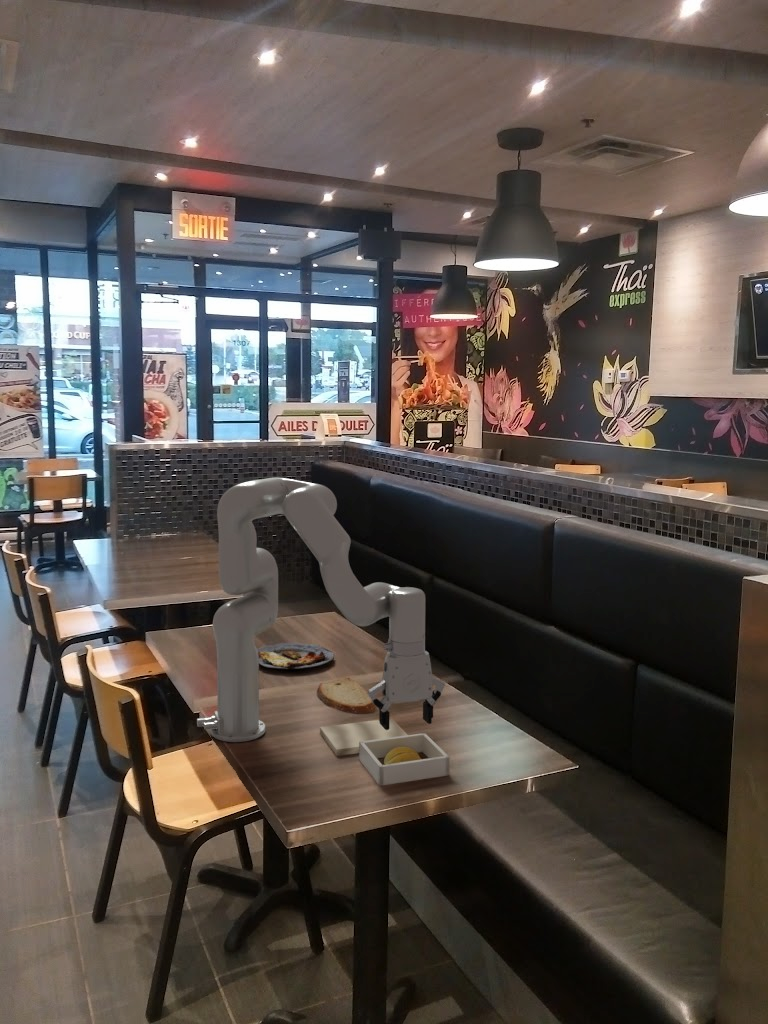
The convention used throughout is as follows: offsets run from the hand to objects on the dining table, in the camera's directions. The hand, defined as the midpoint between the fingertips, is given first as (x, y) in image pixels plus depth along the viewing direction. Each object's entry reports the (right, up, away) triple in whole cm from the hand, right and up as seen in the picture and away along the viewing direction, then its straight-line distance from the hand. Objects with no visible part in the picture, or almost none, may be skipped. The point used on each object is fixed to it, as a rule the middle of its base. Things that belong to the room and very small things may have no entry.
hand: (406, 724), depth 176 cm
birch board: (-9, -7, +15) cm, 19 cm away
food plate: (-32, 0, +70) cm, 77 cm away
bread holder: (-1, -10, +2) cm, 10 cm away
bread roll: (0, -10, +2) cm, 10 cm away
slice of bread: (-14, -4, +41) cm, 44 cm away
